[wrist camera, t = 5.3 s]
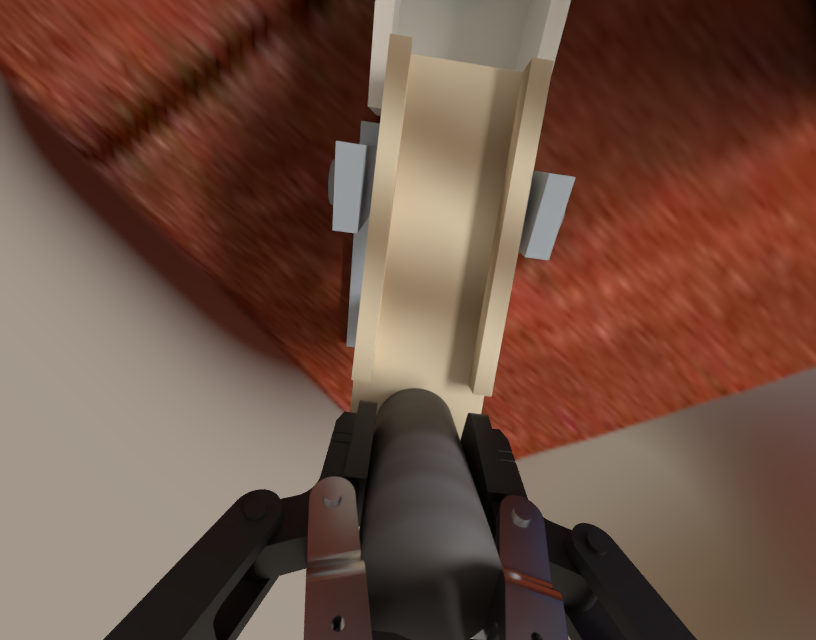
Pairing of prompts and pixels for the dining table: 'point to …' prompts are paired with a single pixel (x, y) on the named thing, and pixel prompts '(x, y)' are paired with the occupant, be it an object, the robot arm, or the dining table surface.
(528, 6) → the gray open tray
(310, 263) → the dining table surface
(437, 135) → the lever
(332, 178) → the stand
